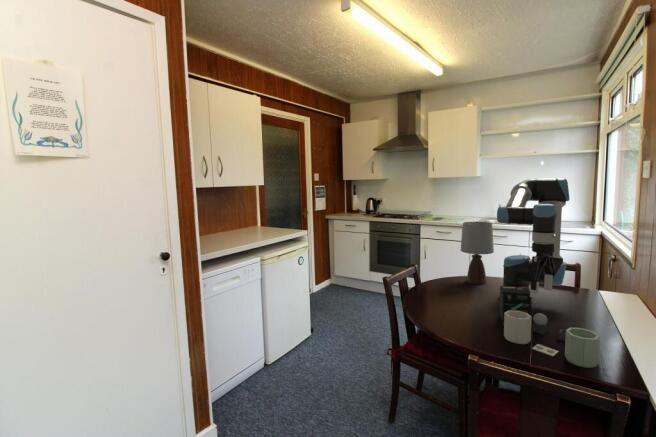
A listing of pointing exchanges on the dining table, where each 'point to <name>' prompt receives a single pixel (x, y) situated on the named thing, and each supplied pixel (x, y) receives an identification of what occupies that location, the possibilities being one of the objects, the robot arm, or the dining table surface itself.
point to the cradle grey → (539, 328)
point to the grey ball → (540, 319)
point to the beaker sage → (582, 347)
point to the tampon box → (514, 300)
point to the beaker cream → (517, 327)
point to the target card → (545, 350)
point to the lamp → (477, 248)
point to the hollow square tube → (562, 334)
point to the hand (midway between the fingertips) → (541, 293)
